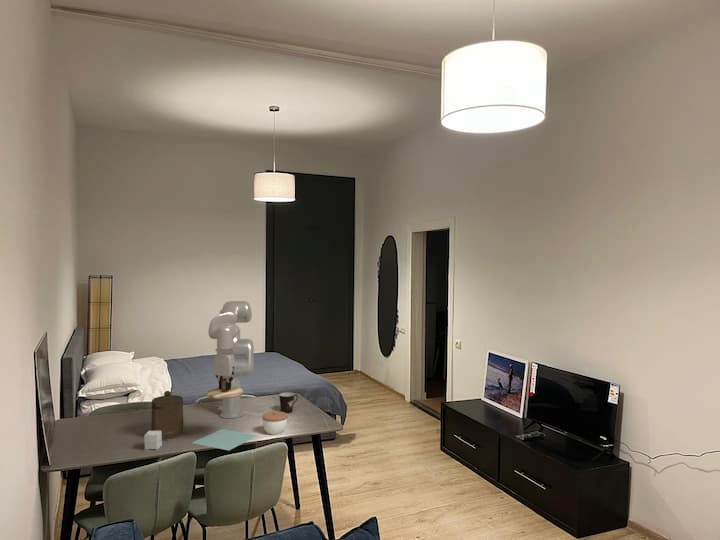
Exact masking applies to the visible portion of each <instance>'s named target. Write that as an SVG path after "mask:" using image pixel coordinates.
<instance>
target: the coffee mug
mask: <svg viewBox="0 0 720 540" xmlns="http://www.w3.org/2000/svg"><path fill="white" fill-rule="evenodd" d="M278 395H279V396H278V397H279V404H280V412H284V413H286V414H292V413H293V411H294V404H295V403H296V402H297V401H298V395H297V394H295V393H294V392H289V391H287V392H282V393H279V394H278ZM295 396H296V399H295ZM294 400H295V401H294Z"/></svg>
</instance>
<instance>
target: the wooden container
mask: <svg viewBox="0 0 720 540" xmlns="http://www.w3.org/2000/svg"><path fill="white" fill-rule="evenodd" d="M183 404H184V397H183V396H181V395H177V394H176V395H175V394H174V395H172V391H170V390H166V391H164V393H163V395H161V396H160V395H159V396H157V397H154V398H153V399H152V400H151V431H162V441H167V440H166V439H170V440H172V439H177V438H179V437H181V436H183V435H184V405H183Z"/></svg>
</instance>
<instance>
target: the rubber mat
mask: <svg viewBox="0 0 720 540" xmlns="http://www.w3.org/2000/svg"><path fill="white" fill-rule="evenodd" d="M257 436H258V435H257V434H251V433H244V432H240V431H235V430H228V429H223V428H221V429H220V430H216V431H215V432H213V433H210V434H209V435H206V436H203V437H202V438H201V437H200V438H199V439H197V440H195V441H192V442H191V444H195V445H199V446H205V447H210V448H215V449H220V450H225V451H231V450H233V449H235V448H236V447H238V446H241V445H243V444H244V443H247V442H248V441H250V440H252V439H254V438H256V437H257Z"/></svg>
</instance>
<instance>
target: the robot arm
mask: <svg viewBox="0 0 720 540" xmlns="http://www.w3.org/2000/svg"><path fill="white" fill-rule="evenodd" d="M222 305H223V306H222V309H220V311H219V314H218V315H216V316H214V317H213V318H212V319H211V320H210V323H209V327H208V332H207V333H208V336H209V338H210V339H212V340H216V348H215V352H216V354H215V355H214V359H213V360H214V362H213V374H212V375H214V377H215V378H216V379H217V381H218V388H219V390H221V379H223V378H227V382H226V391H228V390H231V387H238V388H241V387H242V386H241V381H240V380H239V378H238V376H239V377H244V376H245V377H246V376H252V375H253V373H254V367H255V363H254V361H255V357H254V356H255V355H254V354H255V353H254V342H253V340H252V339H250V338H241V328H240V327H239V326H238V324H241V323H244V324H246V323H249V322H250V321H251V320H252V308H251V305H250V303H249V302H248V301H246V300H229V301H226V302H225V303H224V304H222ZM237 323H238V324H237ZM235 357H245V358H235ZM241 389H242V388H241ZM241 397H242V395H240V396H238V397H234V398H227V399H222V405H219V406H218V408H217V409H218V411H221V412H220V414H219V416H220V417H221V418H224V419H237V418H239V417H240V418H241V417H242V416H244V411H243V410H241V409H242V408H241V407H242V406H241V404H242V401H241Z"/></svg>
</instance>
